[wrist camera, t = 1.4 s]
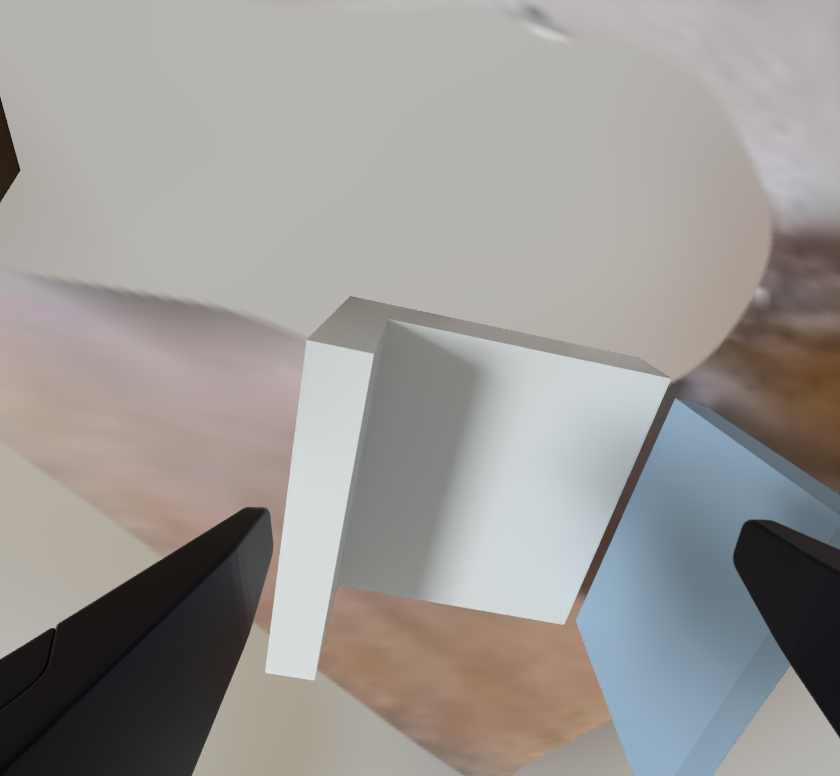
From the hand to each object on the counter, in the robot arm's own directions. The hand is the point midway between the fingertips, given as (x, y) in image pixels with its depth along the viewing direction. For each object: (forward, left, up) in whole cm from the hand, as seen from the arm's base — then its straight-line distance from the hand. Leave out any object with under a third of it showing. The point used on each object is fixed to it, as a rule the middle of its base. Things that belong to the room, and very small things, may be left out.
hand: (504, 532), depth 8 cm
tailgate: (-10, +6, -10) cm, 16 cm away
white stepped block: (-2, +6, -14) cm, 15 cm away
